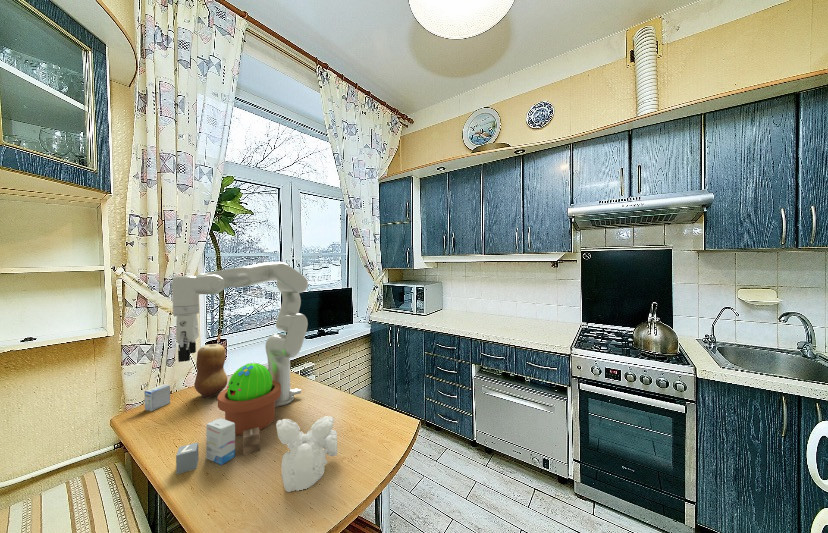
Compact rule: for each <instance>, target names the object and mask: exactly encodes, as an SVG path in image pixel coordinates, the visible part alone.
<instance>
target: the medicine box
mask: <svg viewBox="0 0 828 533" xmlns="http://www.w3.org/2000/svg"><path fill="white" fill-rule="evenodd" d="M170 403H171V385H169V384H164V383H163V384H160V385H157V386H155V387H153V388H150V389H146V390H145V391H144V410H145V411H149V412H153V411H155V410H157V409H159V408H162V407H164V406H166V405H168V404H170Z"/></svg>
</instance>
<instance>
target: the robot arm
mask: <svg viewBox="0 0 828 533" xmlns="http://www.w3.org/2000/svg"><path fill="white" fill-rule="evenodd" d="M171 280H172V281H171V284H172V285H171V286H172V287H171V288H172V290H171V291H172V293H171V294H172V315H173V316H174V317H176V320H175V323H176V325H175V327H176V328H175V333H176V343H177V344H178V346H177V348H178V349H177V358H178V359H177V362H178V363H181V362H182V363H183V362H189V361H190V360H191V354H195V353H196V352H197V346H196V345H197V343H196V340H197V339H198V338H199V336H200V335H199V323H198V314H200V295H217V294H219V293H221V292H223V290H224V289H225V288H244V287H250V286H253V285H254V286H255V285H257V284H258V285H259V284H262V283H267V282H273V281H275V282H276V287H277V289H278V291H279V292H280V293H281V297H282V302H281V306H280V309H279V313H278V315H277V319H276V321H275V327H276V329H277V330H279V331H281V332H285V333H286V334H284V333H283V334H282V333H274V334H272V335H270V336H269V337H268V338H267V340H266V341H265V353H266V358H267V369H268V370H269V371H270V374H271V377H272V380H273V381H276V382H279V383H280V385H281V395H280V397H279V398H278V399H277V400H276V401H275V408H276V407H283V406H285V405H288V404H290V403H292V402H293V400H294V399H295V395H300V394H301V393H302V389H298V388H294V389H292V388H291V359H293V358H295V357H296V356H297V355H299V353H300V351H301V349H302V347H303V343H304V340H305V337H306V333H307V330H308V325H309V323H308V318H307V317H306V315H305V314H303V313H300V308H301V305H302V303H301V302H302V299H301V295H300V293H301V294H302V293H304V292H305V291H306V290H307V289H308V286H309V283H308V279H307V278H306V276H305V275H303V274H302V273H300V272H299V271H297V270H296V269H295V268H293V267H292V266H290V265H289V264H287V263H286V262H282V261H270V262H269V261H267V262H262V263H257V264H251V265H245V266H239V267H232V268H228V269H221V270H216V271H209V272H203V273H199V274H195V276H194V275H180V276H175V277H173V278H172V279H171ZM173 316H172V317H173Z"/></svg>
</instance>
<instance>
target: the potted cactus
mask: <svg viewBox="0 0 828 533" xmlns="http://www.w3.org/2000/svg"><path fill="white" fill-rule="evenodd" d="M280 395H281V385H280V383H279V382H276V381H273V380H272V377H271V374H270V371H269V370H268V367H266V365H264V364H261V363H260V362H259V363H257V362H253V363H251V362H248V363H246V364H244V365H241V366H240V367H238V369H236V371H235V372H233V373H232V374H231V376H230V379H229V380H228V382H227V385H226V389H225V388H224V389H223V390H222V391H221V392H220V393H218V394H217V408H218V409H219V410H220V411H222V412H224V418H225V420H228V421H230V422H233V423H235V436H237V435H238V436H243V431H245V430H249V429H253V428H257V427H259V431H260V430H263V429H265V428H267V427H268V426H269V425H271V423H272V424H273V422H274V420H275V419H276V407H275V401H276V400H277V399H278V398H279V397H280Z"/></svg>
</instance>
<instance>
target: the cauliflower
mask: <svg viewBox="0 0 828 533" xmlns="http://www.w3.org/2000/svg"><path fill="white" fill-rule="evenodd" d="M334 418H335V417H333V416H328V415H326V416H322V417H319V419H318V420H317V419H316V421H315V422H314V424H312V425H311V426H310V430H307V433H304V432H303V431H302V430H301V431H300V429H301V428H300V426H299V424H298V423H297V422H296V421H294V420H292V419H290V418H283V419H278V420H277V421H276V423H275V427H276V434H277V438H278V439H279V440H280V442H281V444H282V445H286V447H287V449H289V451H285V452H284V454H283V456H282V459H281V465H280V466H281V467H280V468H281V478H282V483H283V487H284V488H283V489H285V492H287V493H291V491H292V492H300V491H299V490H302V491H304V490H303V489H306V490H307V488H308V489H309V488H311V487H312V486H314V485H315V484H316V483H317V482H318V481H319V480H321V478H322V477H323V475H324V473H325V465H327V464H328V459H327V460H326V457H327V456H326V455H328V456H329V457H335V456H337V455H338V434H337V431H336V430H335V429H333V427H334V422H335V419H334ZM295 490H296V491H295Z"/></svg>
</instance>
